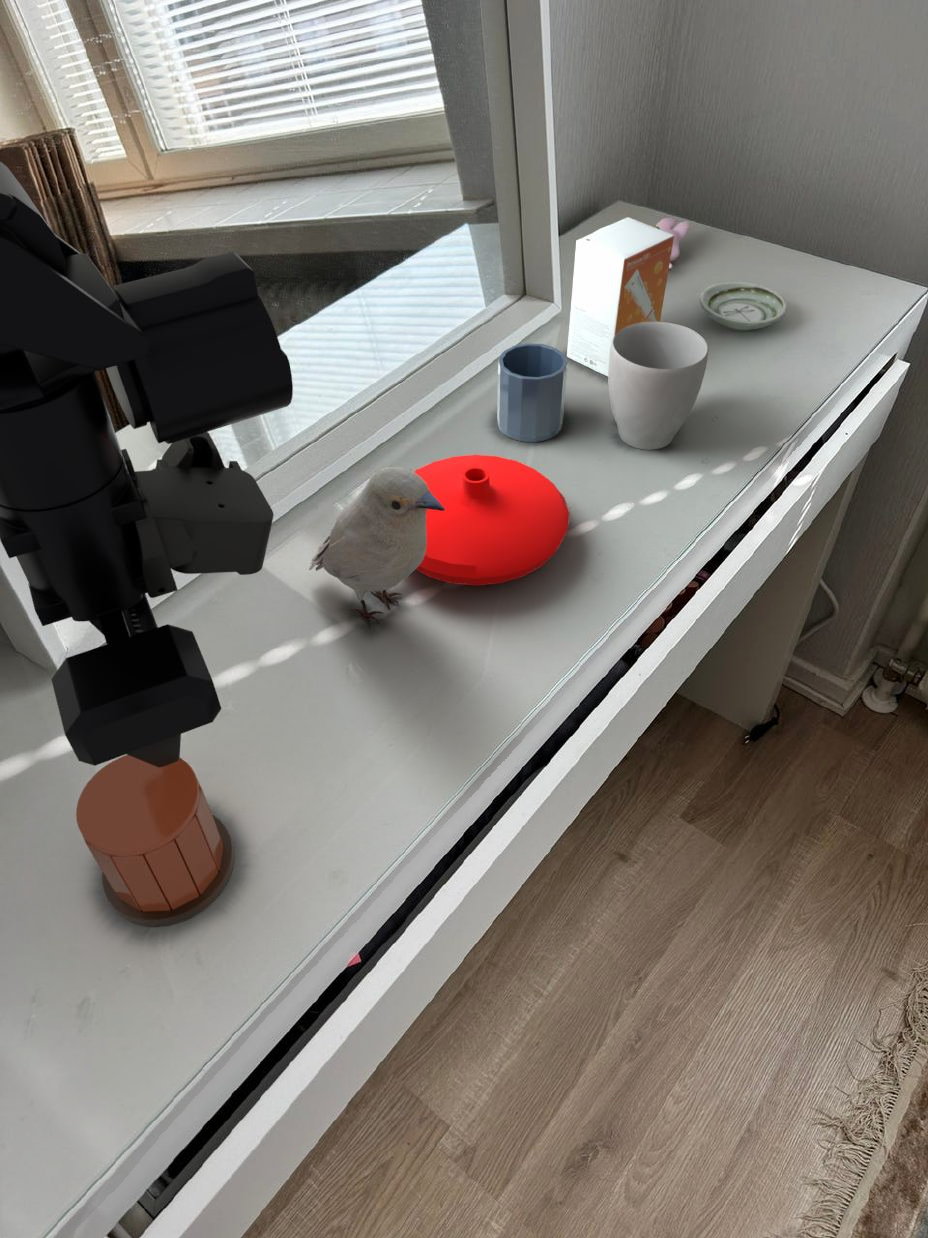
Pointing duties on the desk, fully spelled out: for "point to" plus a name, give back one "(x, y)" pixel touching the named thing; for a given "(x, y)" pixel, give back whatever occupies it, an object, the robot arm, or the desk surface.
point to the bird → (379, 535)
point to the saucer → (743, 305)
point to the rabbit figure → (678, 234)
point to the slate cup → (531, 392)
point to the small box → (615, 287)
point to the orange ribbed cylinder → (150, 832)
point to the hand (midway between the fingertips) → (147, 700)
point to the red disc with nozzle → (490, 520)
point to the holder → (190, 907)
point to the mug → (654, 380)
